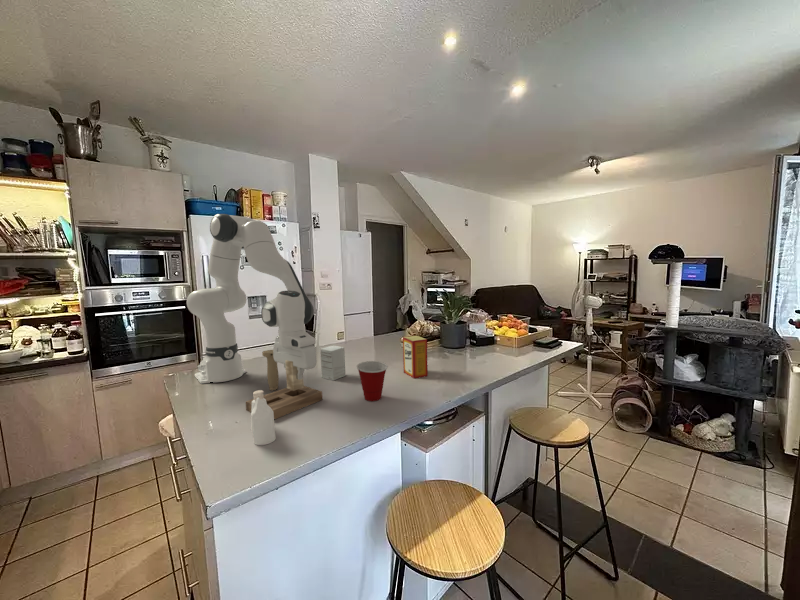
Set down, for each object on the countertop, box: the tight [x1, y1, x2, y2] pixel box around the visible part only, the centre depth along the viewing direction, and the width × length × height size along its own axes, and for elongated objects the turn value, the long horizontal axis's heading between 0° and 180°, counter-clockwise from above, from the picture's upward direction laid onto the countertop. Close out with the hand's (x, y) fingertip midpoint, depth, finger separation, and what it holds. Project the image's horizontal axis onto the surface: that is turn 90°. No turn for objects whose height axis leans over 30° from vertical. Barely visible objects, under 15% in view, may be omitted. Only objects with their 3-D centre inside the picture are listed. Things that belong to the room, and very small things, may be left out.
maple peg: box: [285, 360, 305, 391], centre depth 113 cm, size 4×4×10 cm
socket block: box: [245, 385, 323, 420], centre depth 111 cm, size 14×20×3 cm
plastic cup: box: [356, 360, 389, 402], centre depth 114 cm, size 11×11×12 cm
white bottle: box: [250, 389, 267, 432], centre depth 94 cm, size 5×5×11 cm
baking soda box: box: [402, 335, 429, 379], centre depth 139 cm, size 10×6×16 cm
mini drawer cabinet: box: [319, 345, 347, 381], centre depth 139 cm, size 7×7×13 cm
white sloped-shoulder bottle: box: [250, 398, 276, 446], centre depth 87 cm, size 6×12×6 cm
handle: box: [262, 349, 280, 391], centre depth 125 cm, size 5×6×15 cm
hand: (294, 377), depth 113 cm, fingers closed on maple peg, 4 cm apart
